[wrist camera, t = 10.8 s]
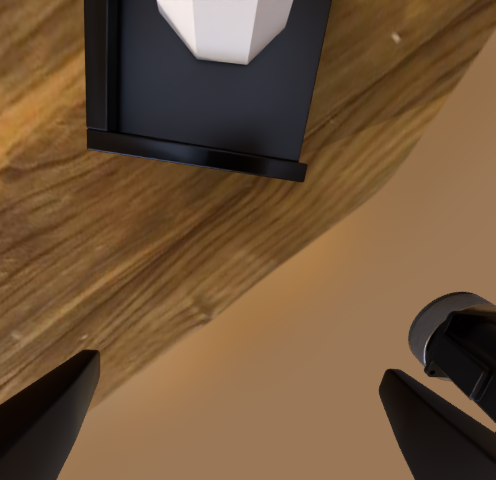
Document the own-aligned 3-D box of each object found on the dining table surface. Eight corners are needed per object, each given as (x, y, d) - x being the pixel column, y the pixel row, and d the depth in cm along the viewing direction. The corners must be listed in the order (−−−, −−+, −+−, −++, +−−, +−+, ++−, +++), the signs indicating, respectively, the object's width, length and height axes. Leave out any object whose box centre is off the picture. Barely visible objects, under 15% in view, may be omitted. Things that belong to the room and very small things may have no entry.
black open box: (320, -95, 15) (411, -309, 8) (272, 169, 19) (304, 183, 12) (147, -148, 14) (73, -460, 7) (138, 147, 18) (86, 149, 11)
